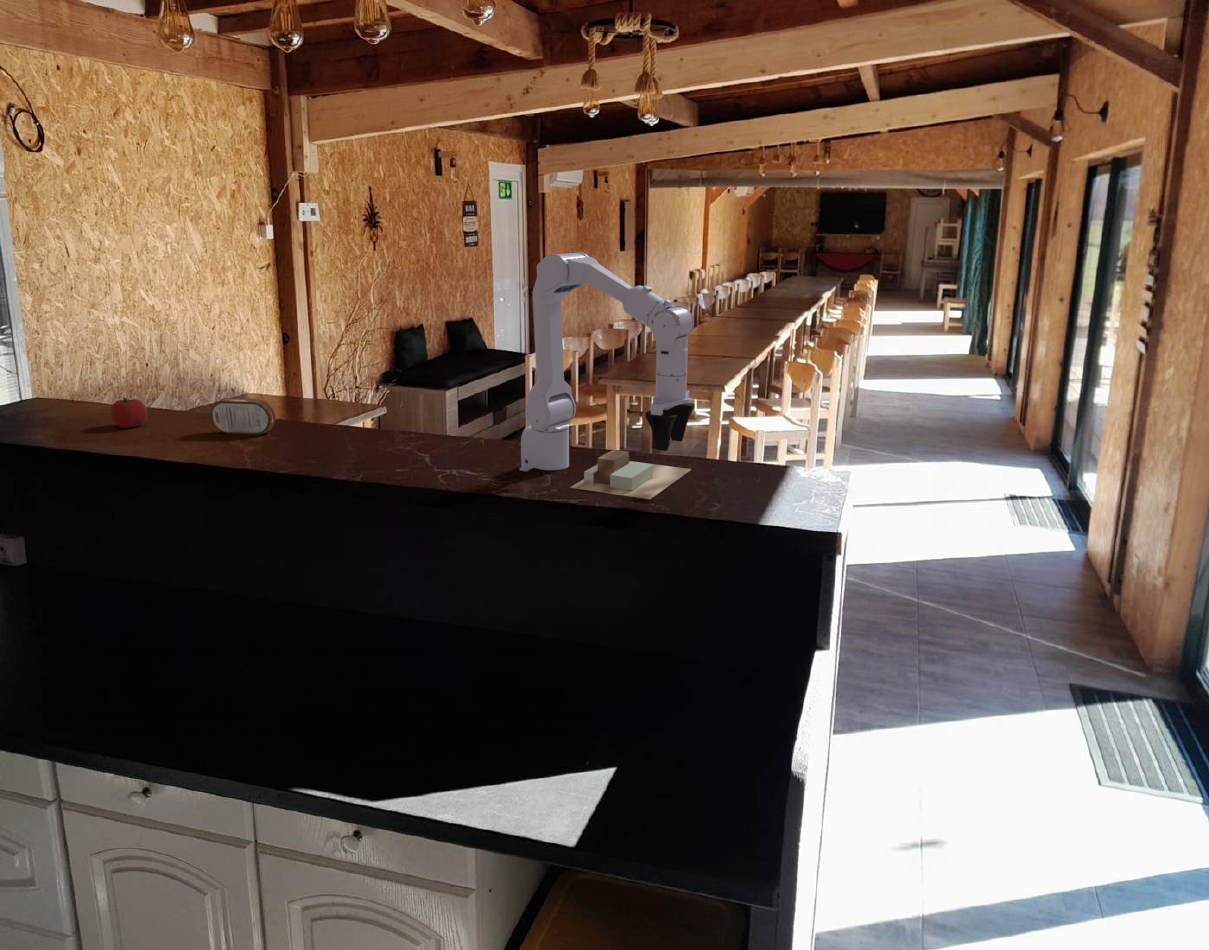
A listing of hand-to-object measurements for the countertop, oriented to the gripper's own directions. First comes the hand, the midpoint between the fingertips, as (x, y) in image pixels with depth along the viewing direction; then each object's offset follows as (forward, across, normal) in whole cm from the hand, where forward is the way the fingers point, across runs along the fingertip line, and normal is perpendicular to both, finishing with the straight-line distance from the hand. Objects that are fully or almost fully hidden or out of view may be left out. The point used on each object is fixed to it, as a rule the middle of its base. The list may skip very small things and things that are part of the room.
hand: (669, 445), depth 177 cm
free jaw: (+8, 0, +8) cm, 11 cm away
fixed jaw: (+9, 0, +14) cm, 17 cm away
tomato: (+10, -8, +138) cm, 138 cm away
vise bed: (+9, +3, +9) cm, 13 cm away
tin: (+10, -1, +108) cm, 108 cm away
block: (+8, 0, +12) cm, 14 cm away
